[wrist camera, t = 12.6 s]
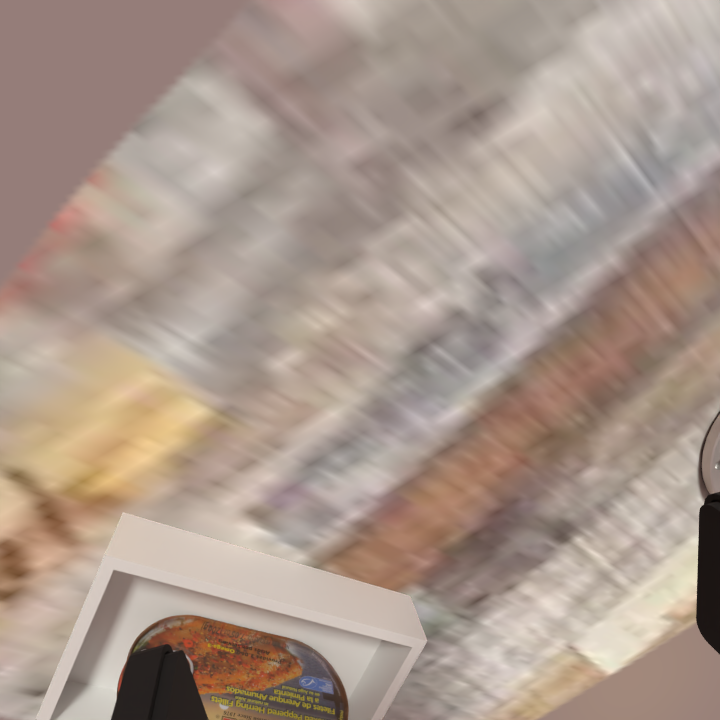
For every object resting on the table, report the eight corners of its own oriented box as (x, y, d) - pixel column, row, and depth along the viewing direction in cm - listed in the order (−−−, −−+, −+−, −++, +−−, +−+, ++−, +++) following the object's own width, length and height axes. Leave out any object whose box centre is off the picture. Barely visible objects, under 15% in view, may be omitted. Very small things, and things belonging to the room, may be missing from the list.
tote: (53, 677, 38) (28, 737, 34) (122, 512, 35) (104, 554, 31) (333, 732, 44) (341, 789, 40) (410, 595, 42) (427, 641, 37)
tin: (341, 650, 41) (361, 759, 33) (323, 682, 41) (339, 797, 34) (144, 599, 37) (113, 711, 29) (127, 636, 37) (92, 755, 29)
